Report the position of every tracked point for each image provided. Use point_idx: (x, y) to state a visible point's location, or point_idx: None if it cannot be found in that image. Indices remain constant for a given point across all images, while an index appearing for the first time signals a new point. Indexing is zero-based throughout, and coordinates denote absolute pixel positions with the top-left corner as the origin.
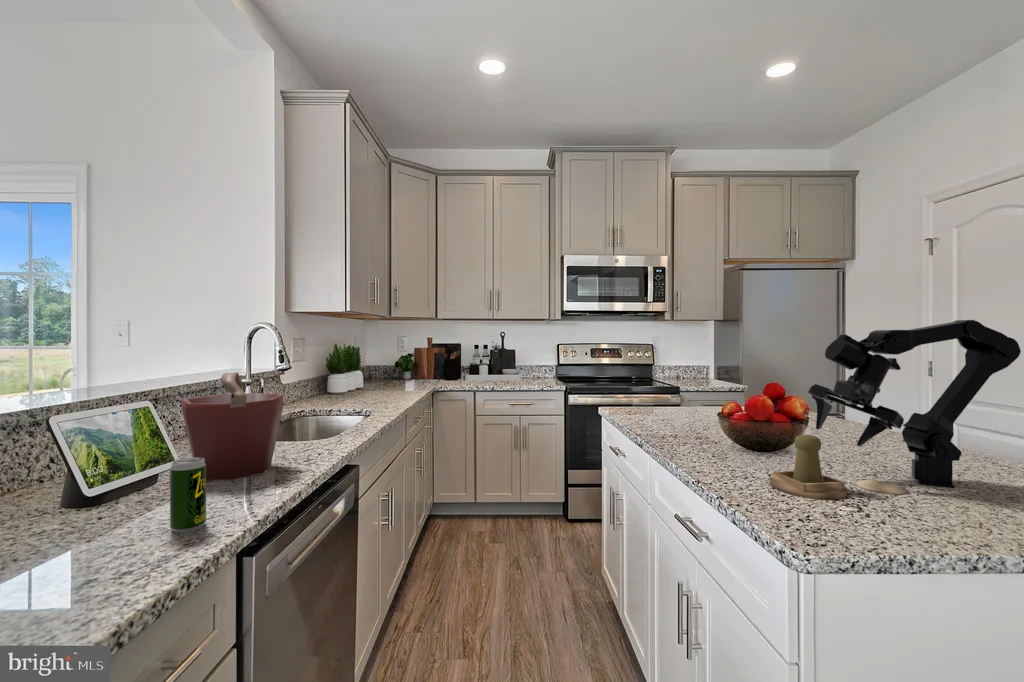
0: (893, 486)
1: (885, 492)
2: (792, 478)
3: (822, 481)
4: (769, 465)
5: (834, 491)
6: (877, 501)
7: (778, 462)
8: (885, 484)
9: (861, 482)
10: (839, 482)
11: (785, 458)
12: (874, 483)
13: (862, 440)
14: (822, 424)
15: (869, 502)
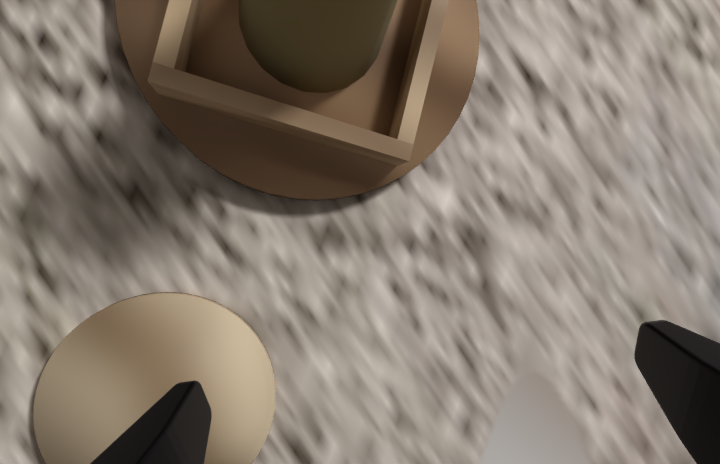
0: None
1: (81, 324)
2: (410, 46)
3: (248, 31)
4: (633, 235)
5: (159, 11)
6: (9, 145)
7: None
8: None
9: (246, 363)
10: (162, 54)
11: None
12: None
13: (125, 434)
14: (687, 439)
15: (15, 87)
